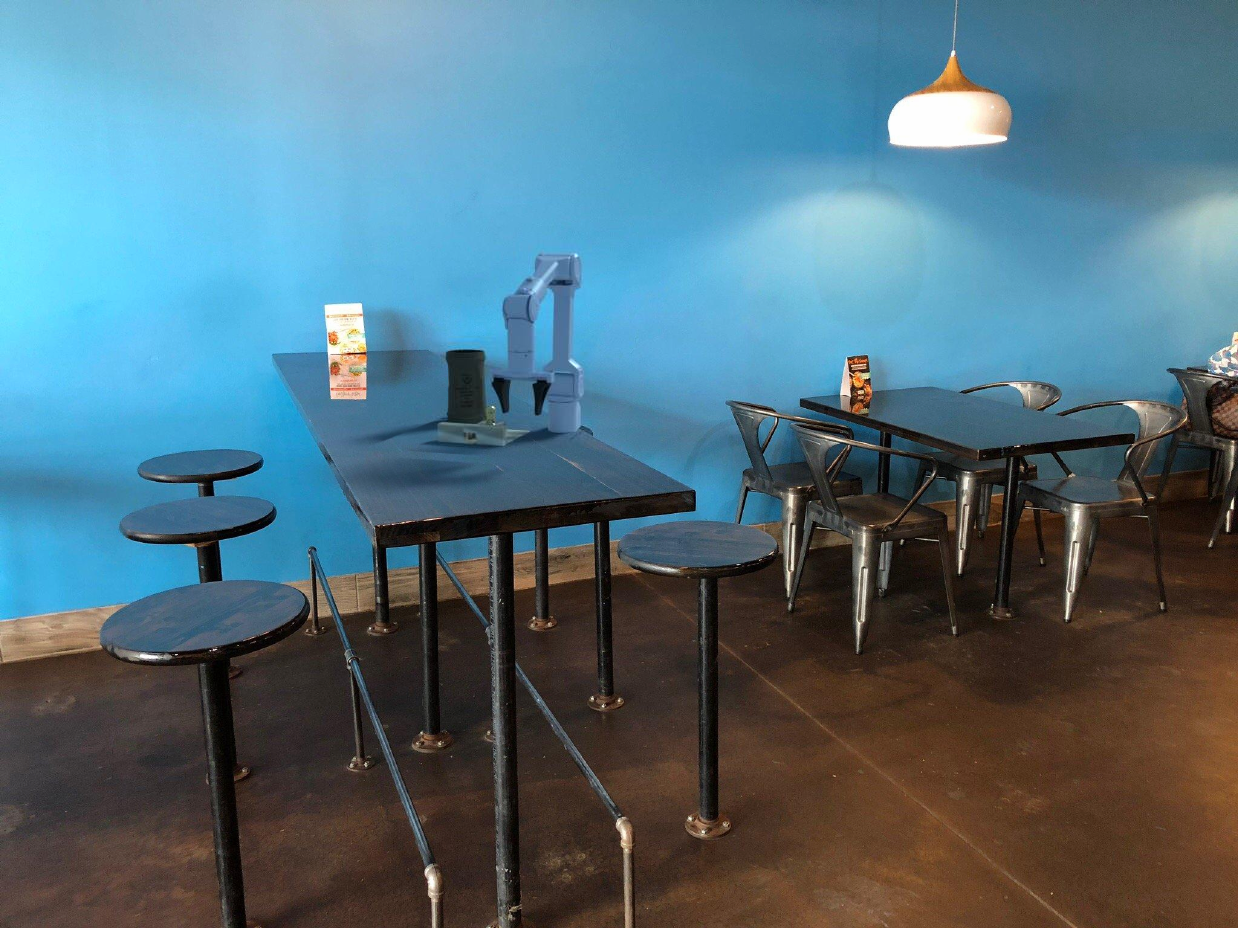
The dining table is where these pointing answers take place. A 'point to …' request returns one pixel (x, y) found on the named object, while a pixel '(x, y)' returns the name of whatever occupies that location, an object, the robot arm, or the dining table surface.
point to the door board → (484, 433)
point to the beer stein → (466, 386)
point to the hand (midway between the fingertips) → (521, 413)
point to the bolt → (490, 416)
